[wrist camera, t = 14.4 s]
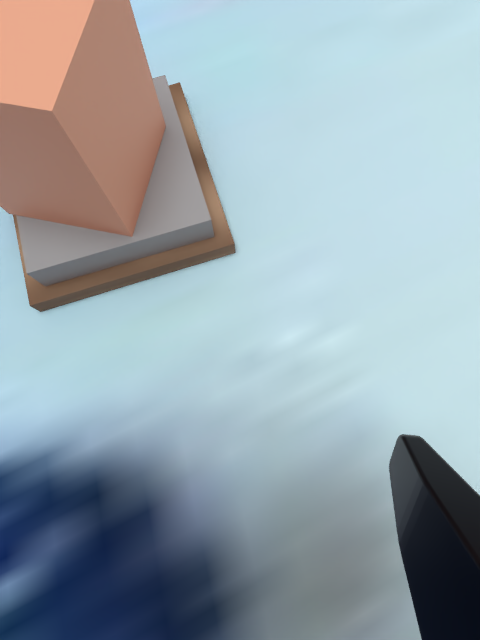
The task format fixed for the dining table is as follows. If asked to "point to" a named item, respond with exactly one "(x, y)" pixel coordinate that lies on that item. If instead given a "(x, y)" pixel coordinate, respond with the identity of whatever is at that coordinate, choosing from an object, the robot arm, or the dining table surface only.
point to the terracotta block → (76, 113)
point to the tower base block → (153, 264)
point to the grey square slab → (152, 225)
